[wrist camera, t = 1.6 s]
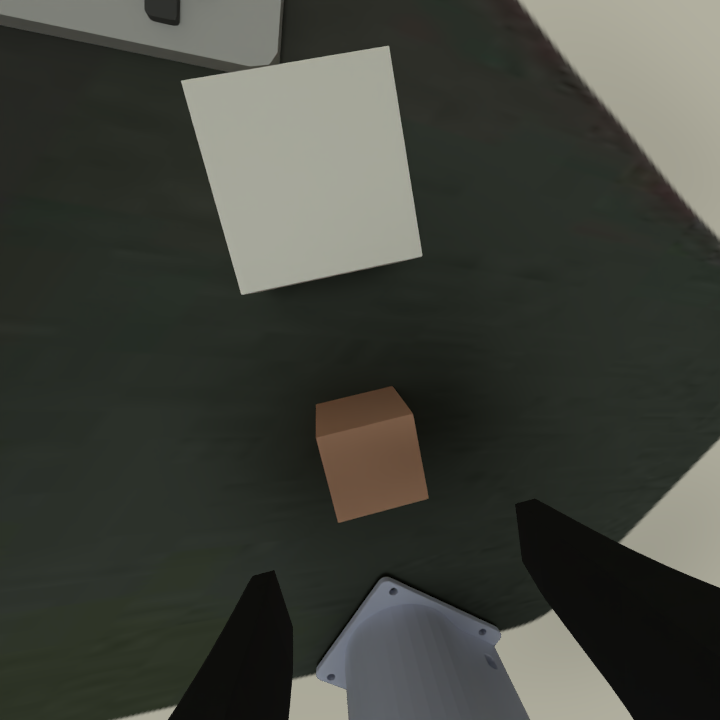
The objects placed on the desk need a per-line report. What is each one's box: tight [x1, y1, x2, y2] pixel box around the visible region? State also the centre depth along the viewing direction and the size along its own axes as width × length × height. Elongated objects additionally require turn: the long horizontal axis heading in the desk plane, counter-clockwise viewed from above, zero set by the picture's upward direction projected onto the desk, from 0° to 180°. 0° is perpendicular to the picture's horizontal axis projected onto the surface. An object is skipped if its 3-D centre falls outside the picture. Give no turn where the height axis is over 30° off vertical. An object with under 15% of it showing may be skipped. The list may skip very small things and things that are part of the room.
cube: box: [316, 386, 429, 523], centre depth 17 cm, size 4×4×4 cm
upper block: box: [181, 46, 422, 295], centre depth 12 cm, size 6×6×3 cm
